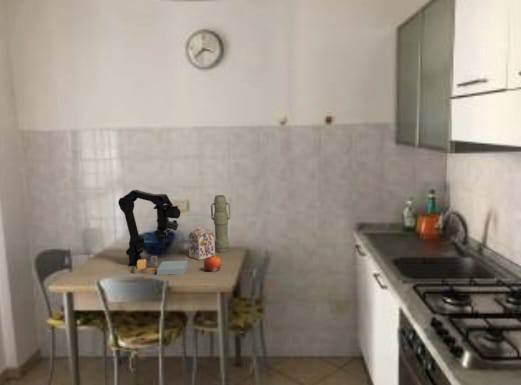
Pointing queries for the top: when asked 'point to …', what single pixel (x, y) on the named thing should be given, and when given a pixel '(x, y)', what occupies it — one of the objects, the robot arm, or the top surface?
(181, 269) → the pale grey flat slab
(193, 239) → the decorative jar
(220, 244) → the green vase
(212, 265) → the tomato
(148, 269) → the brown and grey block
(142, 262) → the orange cube
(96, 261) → the top surface
